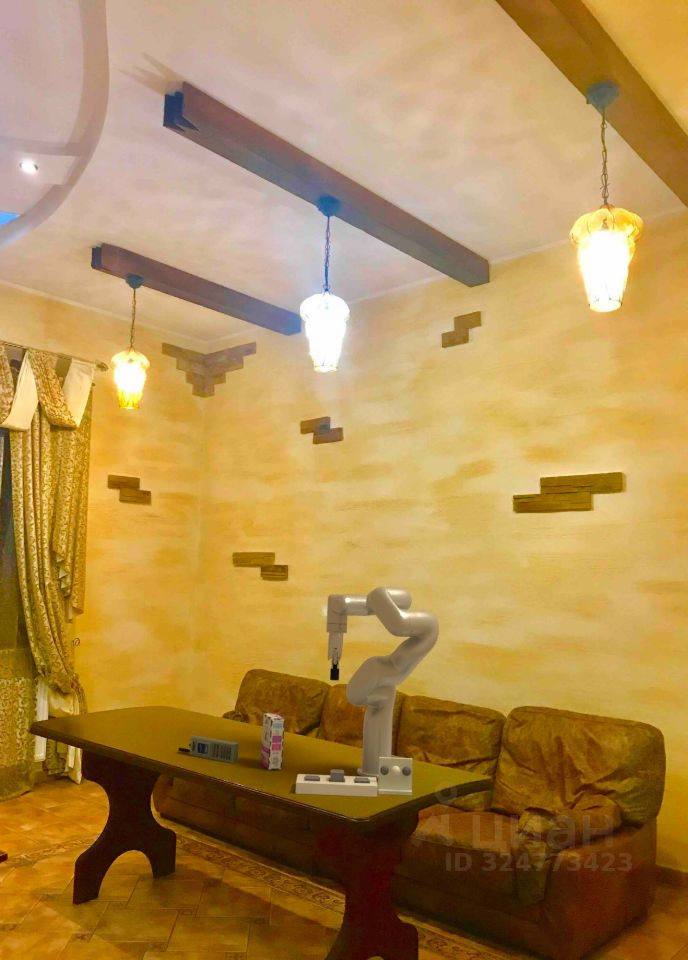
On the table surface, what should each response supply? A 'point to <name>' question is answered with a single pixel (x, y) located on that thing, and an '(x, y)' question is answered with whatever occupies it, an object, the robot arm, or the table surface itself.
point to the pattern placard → (395, 776)
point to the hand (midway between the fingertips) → (334, 680)
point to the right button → (361, 780)
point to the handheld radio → (212, 749)
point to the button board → (336, 786)
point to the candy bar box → (272, 741)
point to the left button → (311, 778)
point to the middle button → (337, 775)
